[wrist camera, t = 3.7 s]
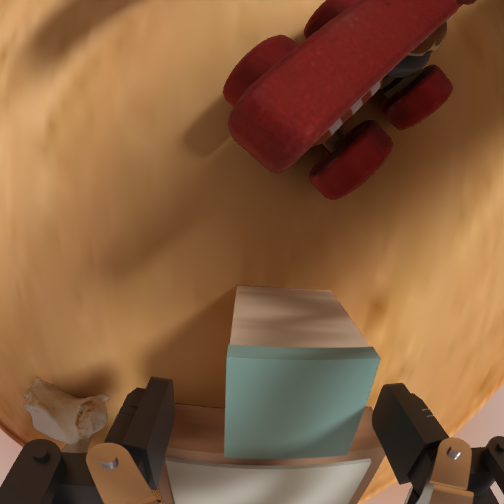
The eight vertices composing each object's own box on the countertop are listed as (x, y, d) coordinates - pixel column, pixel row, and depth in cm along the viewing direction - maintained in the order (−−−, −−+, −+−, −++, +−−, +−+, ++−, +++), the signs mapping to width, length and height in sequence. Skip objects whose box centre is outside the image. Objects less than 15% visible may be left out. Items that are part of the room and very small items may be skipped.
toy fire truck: (441, 82, 14) (569, 34, 3) (300, 220, 16) (385, 292, 5) (360, -3, 12) (436, -110, 2) (202, 122, 14) (121, 31, 4)
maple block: (331, 289, 16) (380, 358, 9) (318, 368, 17) (346, 455, 10) (236, 284, 16) (226, 357, 9) (232, 365, 17) (224, 457, 10)
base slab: (371, 406, 18) (391, 449, 14) (327, 505, 21) (334, 538, 17) (162, 401, 18) (146, 447, 14) (179, 502, 21) (173, 536, 17)
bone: (37, 334, 15) (36, 489, 8) (122, 361, 19) (152, 498, 12) (17, 393, 17) (22, 508, 10) (85, 412, 21) (103, 518, 14)
